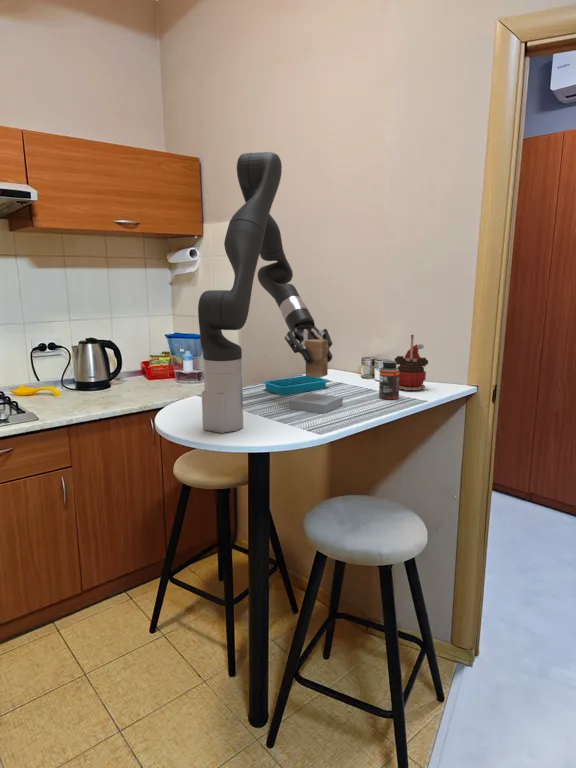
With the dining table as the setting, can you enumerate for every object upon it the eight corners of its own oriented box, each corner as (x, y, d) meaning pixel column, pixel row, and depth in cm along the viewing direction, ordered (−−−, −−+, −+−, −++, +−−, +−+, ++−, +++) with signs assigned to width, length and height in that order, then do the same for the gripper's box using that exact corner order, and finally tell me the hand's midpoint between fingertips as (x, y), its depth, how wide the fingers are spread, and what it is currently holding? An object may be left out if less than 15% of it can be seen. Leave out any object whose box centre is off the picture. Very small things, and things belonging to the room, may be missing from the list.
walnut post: (319, 377, 142) (320, 341, 140) (305, 376, 145) (305, 340, 143) (327, 375, 146) (327, 339, 144) (313, 373, 148) (314, 338, 146)
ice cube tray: (261, 390, 170) (260, 381, 170) (308, 383, 182) (308, 375, 181) (281, 397, 161) (281, 387, 161) (330, 388, 173) (330, 380, 172)
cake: (390, 390, 169) (392, 335, 166) (397, 384, 178) (400, 332, 174) (422, 393, 165) (425, 337, 161) (429, 387, 173) (432, 334, 169)
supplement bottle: (397, 395, 161) (399, 360, 159) (399, 400, 155) (401, 363, 153) (378, 395, 162) (379, 359, 159) (379, 399, 156) (380, 362, 154)
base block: (324, 415, 140) (324, 405, 139) (289, 410, 146) (289, 399, 145) (342, 407, 149) (342, 397, 148) (309, 402, 155) (309, 392, 154)
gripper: (280, 307, 144) (305, 355, 137) (321, 306, 151) (347, 351, 144) (270, 325, 149) (293, 372, 142) (311, 322, 157) (334, 366, 150)
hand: (320, 361), depth 143 cm, fingers closed on walnut post, 6 cm apart
